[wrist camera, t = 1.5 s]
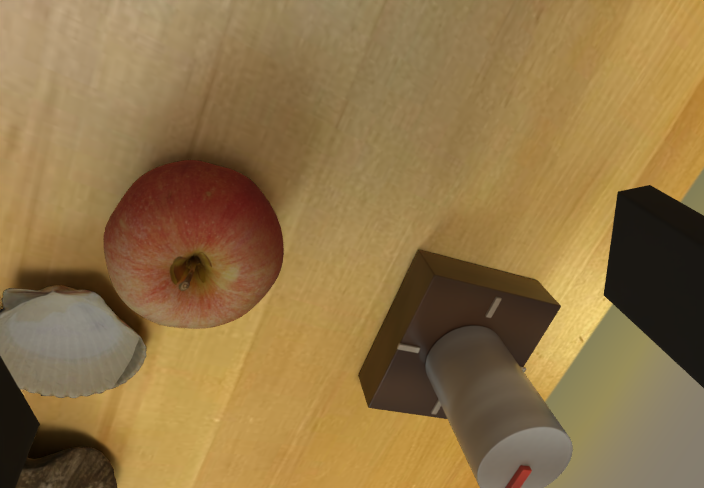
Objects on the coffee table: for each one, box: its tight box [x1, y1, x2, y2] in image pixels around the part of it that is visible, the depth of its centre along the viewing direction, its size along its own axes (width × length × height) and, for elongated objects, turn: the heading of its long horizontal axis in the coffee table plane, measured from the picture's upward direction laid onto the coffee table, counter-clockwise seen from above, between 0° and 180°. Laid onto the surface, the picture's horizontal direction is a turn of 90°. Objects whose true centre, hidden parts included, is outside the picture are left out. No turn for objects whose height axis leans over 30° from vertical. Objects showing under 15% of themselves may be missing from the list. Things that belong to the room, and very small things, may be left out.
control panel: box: [359, 250, 561, 419], centre depth 35 cm, size 10×9×3 cm
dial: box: [426, 326, 572, 488], centre depth 30 cm, size 5×5×8 cm
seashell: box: [0, 285, 146, 398], centre depth 30 cm, size 8×3×8 cm
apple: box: [104, 160, 284, 329], centre depth 26 cm, size 8×8×8 cm
